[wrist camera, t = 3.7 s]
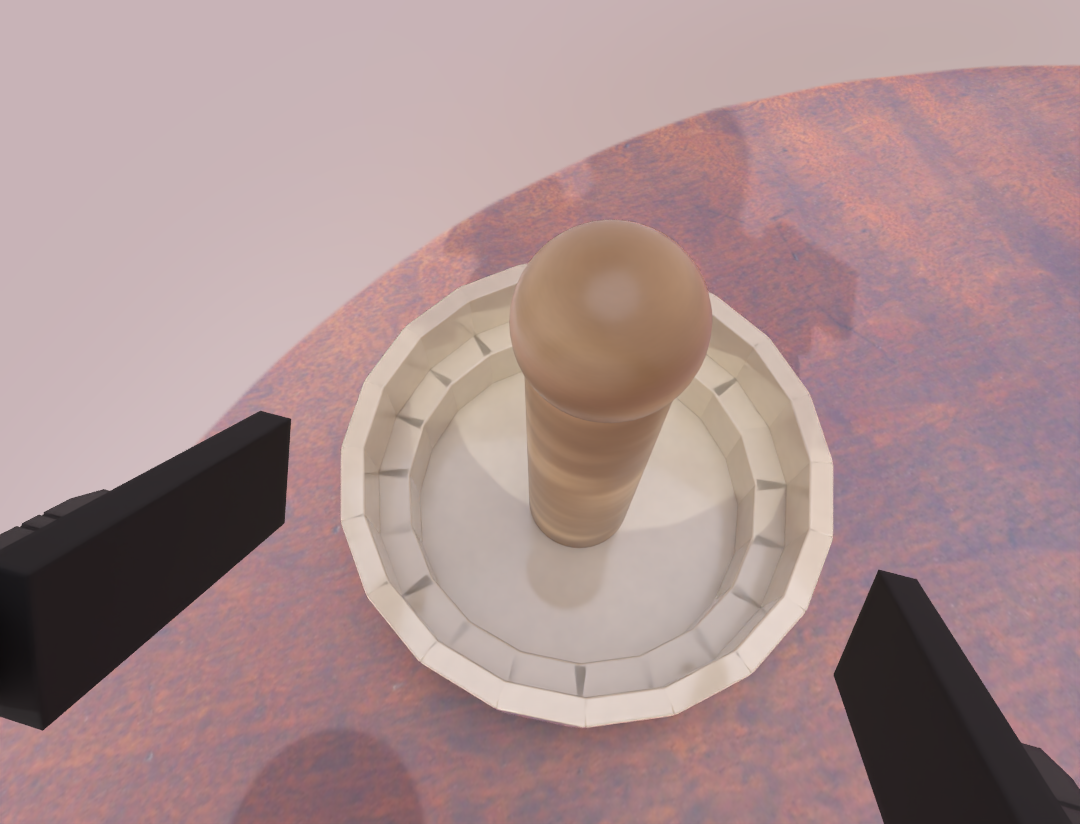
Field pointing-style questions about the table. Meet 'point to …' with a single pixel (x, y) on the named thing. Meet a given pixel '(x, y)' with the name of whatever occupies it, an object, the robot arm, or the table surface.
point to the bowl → (594, 572)
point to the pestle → (602, 367)
